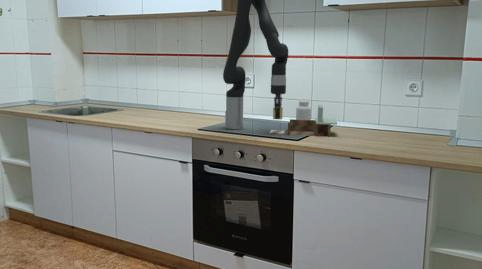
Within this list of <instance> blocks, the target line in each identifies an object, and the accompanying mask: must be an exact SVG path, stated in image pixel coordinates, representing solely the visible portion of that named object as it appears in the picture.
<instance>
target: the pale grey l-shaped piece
mask: <svg viewBox="0 0 482 269" xmlns="http://www.w3.org/2000/svg"><path fill="white" fill-rule="evenodd" d="M323 114H324V106H323V105H322V104H321V105H320V104H319V105H317V118H315V119H314V120H315V121H316V124H329V125H331V126H332V125H333V126H337V125H338V122H337V120H336V118H323V116H324V115H323Z"/></svg>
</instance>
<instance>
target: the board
mask: <svg viewBox="0 0 482 269" xmlns="http://www.w3.org/2000/svg"><path fill="white" fill-rule="evenodd" d="M331 127H332V125H329V124H316V121H315V119H311V120H296V118H295V119H293V118H292V119H289V122H288V123H287V130H285V129H270V130H269V132H268V135H273V136H274V135H277V136H278V135H280V136H303V137H305V136H306V137H307V136H308V137H309V136H310V137H328V138H329V137H331Z"/></svg>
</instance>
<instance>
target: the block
mask: <svg viewBox="0 0 482 269" xmlns="http://www.w3.org/2000/svg"><path fill="white" fill-rule="evenodd" d="M276 108H279V107H276ZM283 108H284V107H282V106H281V107H280V119H279V120H283V112H284V111H283ZM272 110H273V111H272V120H276V119H275V107H273V108H272Z"/></svg>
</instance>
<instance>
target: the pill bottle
mask: <svg viewBox="0 0 482 269" xmlns="http://www.w3.org/2000/svg"><path fill="white" fill-rule="evenodd" d="M309 104H310V102H309V101H308V100H301V101H300V100H299V102H298V106H296V110H295V111H296V112H295V115H296V116H295V120H312V119H311V118H312V117H311V116H312V109H311V107H310V106H309Z"/></svg>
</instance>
